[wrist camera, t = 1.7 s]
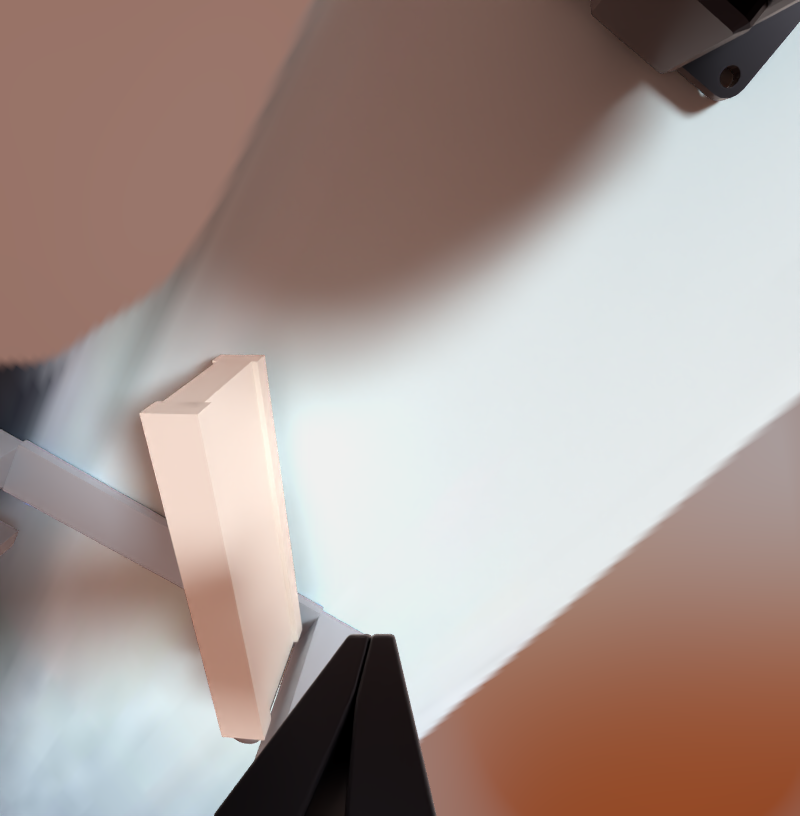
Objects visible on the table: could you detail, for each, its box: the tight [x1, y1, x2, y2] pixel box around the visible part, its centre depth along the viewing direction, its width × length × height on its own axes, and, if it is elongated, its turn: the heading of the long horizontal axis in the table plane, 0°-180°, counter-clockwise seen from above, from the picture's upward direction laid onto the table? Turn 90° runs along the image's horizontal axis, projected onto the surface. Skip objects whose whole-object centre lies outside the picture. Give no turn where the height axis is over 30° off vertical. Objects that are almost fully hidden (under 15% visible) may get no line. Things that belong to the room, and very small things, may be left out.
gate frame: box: [0, 429, 363, 759], centre depth 19 cm, size 3×19×7 cm, turn 56°
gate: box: [139, 355, 302, 744], centre depth 18 cm, size 2×14×5 cm, turn 1°
